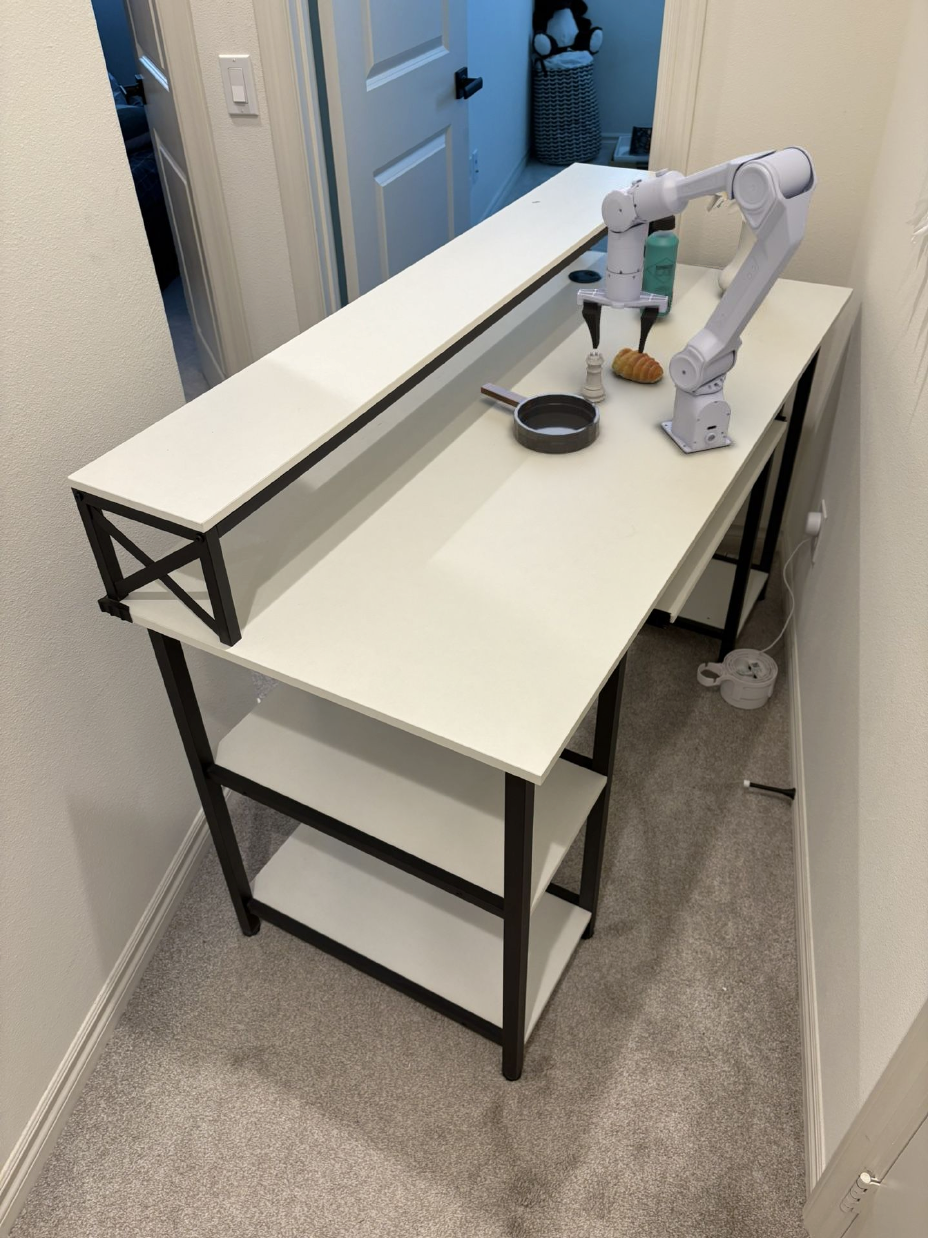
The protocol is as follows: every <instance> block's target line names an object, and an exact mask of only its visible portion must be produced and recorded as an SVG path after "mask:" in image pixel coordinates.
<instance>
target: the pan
mask: <svg viewBox="0 0 928 1238" xmlns="http://www.w3.org/2000/svg"><path fill="white" fill-rule="evenodd" d="M527 398H528V399H526V400H524V401H523V402H521V403H520V404H519V405H518V406H517V407H516V408H515V409H514V410H513V435H514V436H515V438H516V439H517V441H518V442H519V443H521V444H522V445H523V446H525V447H526V448H529V449H530V450H533V451H536V452H541V453H546V454H566V453H572V452H576V451H579V450H582V449H584V448H587V447H588V446H590V445H591V444H592V443H593V442H594V441H595V440H596V439H597V437H598V435H599V434H600V421H601V420H600V418H601V417H600V416H601V415H600V409H599V407H598V406H597V405H596V403H593V402H591V401H590V400H588V399H586V398H584V397H581V396H580V395H577V394H574V393H573V394H572V393H567V392H566V393H565V392H548V393H547V392H546V393H542V394H535V395H534V396H531V397H527ZM528 401H530V407H529V408H527V409H526V403H527V402H528Z"/></svg>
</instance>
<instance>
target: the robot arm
mask: <svg viewBox="0 0 928 1238" xmlns="http://www.w3.org/2000/svg"><path fill="white" fill-rule="evenodd" d="M654 173H655V175H654V176H653V177H651V178H648V179H645V180H643V179H642V178H638V179H635V180H632V181H631V184H630V185H627V186H624V187H621V188H619V189H613V190H612V191H611V192H609V193H607V195H606V196H605V197H604V198H603V199H602V203H601V217H602V220H603V222H604V224H605V226H606V227H607V228H608V229H607V231H608V232H607V245H606V246H607V247H606V262H605V263H606V265H605V281H604V288H594V289H591V288H590V289H581V288H580V289H579V290H578V292H577V295H576V306H581V307H582V310H581V316H582V318H583V319H584V321H585V324H586V325H587V328H588V331H589V334H590V338H591V344H592V349H593V350H598V348H599V346H600V342H601V317H602V308H603V307H610V308H611V309H617V310H623V309H625V308H627V309H637V310H638V309H639V310H640V309H644V311H643V313H642V314H641V316H640V335H639V342H638V349H637V350H638V353H640V354H642V353H644V351H645V347H646V342H647V339H648V336H649V333H650V331H651V329H652V328H653V326H654V324H655V323H656V321H657V319H658V318H659V317H658V314H659V312H664V313H665V312H666V309H667V304H668V296H661V295H656V294H652V293H647V292H643V291H641V288H642V284H641V282H642V281H641V280H642V277H643V274H642V273H643V268H644V257H645V245H646V234H647V233H648V232H649V224H650V223H651V222H654V220H658V219H661V218H665V217H668V216H671V215H674V216H675V215H678V214H681V213H682V212H684V211H685V210H686V208H687V207H688V205H689V203H690V201H691V200H695V199H699V198H703V197H706V196H708V195H711V194H715V193H718V192H722V191H725V192H726V195H727V197H728V199H727V200H729V201H734V200H735V201H736V202H737V204H738V206H739V208H740V213H741V212H742V214H743V216H744V217H745V219H746V221H747V223H748V225H749V227H750V229H751V230H752V232H753V234H754V236H756V240H755V244H754V246H753V248H752V249H751V251H750V253H749V254H748V256H747V257H746V259H745V261H744V262H743V264H742V266H741V267H740V269H739V271H738V272H737V274H736V275H735V277H734V279H733V280H732V282H731V284H730V285H729V287H728V289H727V290H726V292H725V294H722V297H721V298H720V300H719V302H718V303H717V305H716V307H715V308H714V310H713V311H712V313H711V315H710V316H709V318H708V320H707V322H706V323H705V324H704V326H703V327H702V328H701V329H700V330H699V331H698V332H697V333H696V334H695V335H694V336H692V338H691V339H689V340H688V341H687V343H686V345H685V346H684V347H683V349H681V350H679V351H678V352H676V353H674V354H673V356H671V358H670V360H669V365H668V372H669V373H668V374H669V376H670V380H671V381H672V382H673V385H674V387H675V395H674V402H673V411H672V412H673V413H672V420H670V421H665V422H662V423H661V427H662V429H663V430H664V431H665V432H666V433H667V434H668V435H669V436H670V437H671V439H672V440H673V441H674V442H675V443H676V444H677V445H678V446H679V448H680V449H681V450H682V451H683V452H684V453H686V454H689V453H693V452H698V451H704V450H709V449H714V448H719V447H720V448H721V447H725V446H729V445H731V440H730V439H729V438H728V432H729V431H728V430H729V424H730V420H731V412H732V411H731V407H730V404H729V403H728V401H727V400H726V398H725V395H724V384H725V381H726V379H727V373H728V372H730V371H732V369H734V367H735V365H736V363H737V360H738V353H739V349H740V348H741V346H742V345H743V340H742V339H741V335H742V334H743V332H744V331H745V329H746V327H747V326H748V325H749V323H750V321H751V320H752V318H753V317H754V315H756V313H757V311H758V309H759V307H760V306H761V305H762V303H763V302H764V301H765V299H766V297H767V296H768V294H769V293H770V292H771V289H772V288H773V287H774V286H775V284H776V282H777V280H778V279H779V278H780V276H781V275H782V273H783V272H784V270H785V268H786V267H787V266H788V264H789V263H790V261H791V260H792V258H793V256H794V255H795V254H796V252H797V250H798V249H799V247H800V246H801V244H802V242H803V240H804V237H805V231H806V225H807V221H808V214H809V208H810V201H811V198H812V196H813V194H814V192H815V191H816V188H817V187H818V184H819V180H818V176H817V172H816V168H815V164H814V159H813V157H812V156H811V154H810V152H808V150H806V149H805V148H803V147H801V146H798V145H790V146H786V147H784V148H783V149H781V150H780V151H777V149H769V150H765V151H760V152H756V153H750V154H746V155H742V156H739V157H736V158H734V159H731V160H728V161H725V162H721V163H720V164H717V165H715V166H711V167H708V168H706V169H703V170H701V171H698V172H696V173H693V174H690V175H688V176H685V175H684V174H683V173H682V172H680V171H678V170H671V171H669V168H667V167H666V168H663V169H661V170H658V171H655V172H654Z"/></svg>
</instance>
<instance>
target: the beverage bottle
mask: <svg viewBox="0 0 928 1238" xmlns="http://www.w3.org/2000/svg"><path fill="white" fill-rule="evenodd" d="M652 228H653V229H654V230H656V231H654V232H652V233H651V234H650V235H649V236H648V237H646V238H645V248H644V258H643V268H642V280H641V291H643V292H647V293H652V294H656V295H661V296H668V304H667V309H666V312H665V313H664V312H659V314H658V317H657V318H663V317H666V316H668V315H669V314H670V312H671V311H672V303H673V299H674V292H675V291H674V290H675V289H674V285H675V278H676V269H677V257H678V249H679V242H680V240H679V237H678V236H677V235H676V234H674V232H671V231H673V230H674V229H675V228H676V216H675V215H671V216H668V217H665V218H661V219H658V220H654V221H653V223H652ZM643 311H644V309H639V313H640V314H641V315H642V313H643Z"/></svg>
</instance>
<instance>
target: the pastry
mask: <svg viewBox="0 0 928 1238" xmlns="http://www.w3.org/2000/svg"><path fill="white" fill-rule="evenodd" d="M611 369H612V370H613V371H614V373H615V375H617V376H619V375H620V376H621V377H622V379H623V378H624V379H627V380H630V381H632V382H637V383H641V384H645V383H656V382H657V381H659V380H661V379H662V377H663V375H664V374H665V373H664V368H663V367H662V366H661V364H660V362H658V361H656V360H655V358H654V357H651V356H650V355H649V354H648V352H643V353H642V354H640V353H638V349H635V350H633V349H631V348H629V347H625V348H622V349H621V350H620V351H619V352H618V353H617V354H616V355H615V357H614V359H613V361H612V363H611Z"/></svg>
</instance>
